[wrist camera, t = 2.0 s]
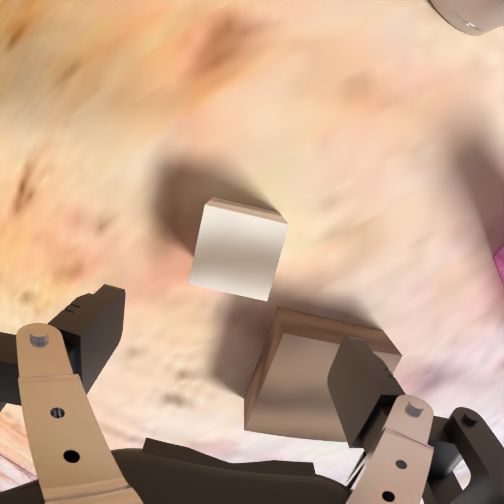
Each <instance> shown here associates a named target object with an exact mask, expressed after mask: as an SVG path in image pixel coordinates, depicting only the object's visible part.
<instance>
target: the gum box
mask: <svg viewBox="0 0 504 504" xmlns="http://www.w3.org/2000/svg"><path fill="white" fill-rule="evenodd" d="M494 260H495V263H496V265H497V268H498V270H499V273H500V276H501V279H502V282H503V285H504V245H503V246H502V247H501V248H500V250H499V251H498V252H497V253H496V254H495V255H494Z"/></svg>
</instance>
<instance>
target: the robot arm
mask: <svg viewBox="0 0 504 504" xmlns="http://www.w3.org/2000/svg"><path fill="white" fill-rule="evenodd" d="M430 1H431V3H432V4H433V6H434V7H435V8H436V10H437V11H438V12H439V13H440V14H441V15H442V16H443V18H445V19H446V20H447V21H448V22H449V23H450V24H451V25H453V26H454V27H456V28H457V29H459V30H461V31H463V32H464V33H467V34H470V35H481V34H484V33H486V32H489V31H491V30H493V29H496V28H498V27H501V26H503V25H504V0H430ZM124 307H125V290H124V289H121V288H117V287H114V286H110V285H106V284H104V285H103V286H102V287H101V288H100V289H99V290H98V291H97V292H96V293H94V294H90V293H88V294H85V295H82V296H80V297H77V298H76V299H75V300H74V301H73V302H72V303H71V304H70V305H68V306H67V307H66V308H65V310H62V311H61V312H60V313H59V314H58V315H57V316H56V317H55V318H53V319H52V320H51V321H50V322H49V323H48V324H43V323H33V324H28V325H25V326H23V327H22V328H20V329H19V330H18V332H17V334H16V335H13V334H7V333H2V332H0V412H1V410H2V409H3V407H4V406H5V405H6V403H10V404H15V405H20V406H22V411H23V416H24V422H25V427H26V432H27V437H28V442H29V446H30V450H31V454H32V458H33V462H34V466H35V470H36V473H37V477H38V479H37V480H34V481H32V482H29V483H26V484H23V485H20V486H18V487H15V488H12V489H9V490H6V491H3V492H0V504H420V501H421V498H423V501H424V504H504V447H503V446H502V445H501V443H500V442H499V440H498V439H497V438H496V436H495V435H494V433H493V432H492V431H491V429H490V428H489V426H488V425H487V424H486V422H485V421H484V420H483V418H482V417H481V416H480V415H479V414H477V413H476V412H475V411H473V410H471V409H468V408H464V407H459V408H456V409H455V410H454V411H453V413H452V414H451V416H450V417H449V419H447V418H442V417H437V416H434V413H433V410H432V408H431V407H430V405H429V404H428V403H426V402H425V401H424V400H422V399H420V398H418V397H416V396H412V395H406V394H405V393H404V391H403V390H402V388H401V386H400V385H399V383H398V382H397V380H396V379H395V377H393V374H392V373H391V371H389V368H388V367H387V365H386V364H385V362H384V361H383V360H382V359H380V358H379V357H378V356H377V355H376V354H374V353H373V351H372V350H371V348H370V347H369V345H368V344H367V342H366V341H365V340H364V339H358V338H351V337H344V338H343V340H342V341H341V343H340V346H339V348H338V351H337V353H336V356H335V358H334V361H333V363H332V365H331V368H330V370H329V373H328V378H327V386H328V389H329V392H330V395H331V397H332V400H333V403H334V406H335V408H336V411H337V414H338V417H339V420H340V422H341V425H342V428H343V431H344V434H345V436H346V439H347V442H348V445H349V448H364V452H363V453H362V455H361V456H360V458H359V459H358V461H357V463H356V465H355V466H354V468H353V470H352V471H351V473H350V475H349V476H348V478H347V480H346V481H345V483H344V484H341V483H339V482H337V481H335V480H332V479H330V478H327V477H324V476H321V475H317V474H315V470H314V465H313V463H311V462H291V461H278V460H271V461H261V462H250V463H228V462H225V461H222V460H220V459H217V458H214V457H211V456H209V455H206V454H203V453H201V452H198V451H196V450H193V449H191V448H188V447H183V446H179V445H174V444H170V443H166V442H162V441H158V440H154V439H150V438H146V440H145V443H144V446H143V449H139V448H125V449H116V450H111V451H110V449H109V447H108V445H107V443H106V441H105V439H104V436H103V434H102V432H101V430H100V427H99V425H98V423H97V420H96V418H95V416H94V413H93V411H92V408H91V406H90V403H89V401H88V398H87V396H86V395H87V393H88V392H89V390H90V388H91V387H92V385H93V384H94V382H95V380H96V379H97V377H98V376H99V374H100V372H101V371H102V369H103V368H104V366H105V364H106V363H107V361H108V360H109V358H110V357H111V355H112V353H113V352H114V350H115V349H116V347H117V346H118V344H119V342H120V339H121V335H122V330H123V319H124ZM462 458H463V460H464V461H465V463H466V465H467V466H468V468H469V470H470V473H471V479H470V482H469V484H468V486H467V487H466V488H465V489H464V490H462V488H461V486H460V484H459V482H458V480H457V479H456V477H455V475H454V473H453V469H454V468H455V467H456V466H457V465H458V463H459V462H460V461H461V460H462Z"/></svg>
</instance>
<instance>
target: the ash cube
mask: <svg viewBox="0 0 504 504" xmlns="http://www.w3.org/2000/svg"><path fill="white" fill-rule="evenodd" d="M287 228H288V223H287V222H286V221H285V219H284V218H283V216H282V215H281V214H280V213H279V212H275V211H271V210H267V209H263V208H258V207H254V206H250V205H246V204H242V203H237V202H233V201H229V200H224V199H220V198H216V197H212V198H211V199H210V200H209V201H208V202H207V203H206V204H205V206H204V211H203V215H202V220H201V225H200V230H199V234H198V239H197V244H196V249H195V254H194V259H193V264H192V269H191V274H190V280H189V284H191V285H195V286H200V287H204V288H208V289H213V290H217V291H221V292H226V293H230V294H235V295H239V296H244V297H249V298H253V299H258V300H263V301H267V300H268V297H269V293H270V290H271V286H272V283H273V279H274V275H275V272H276V268H277V265H278V261H279V257H280V254H281V250H282V246H283V243H284V239H285V235H286V232H287Z"/></svg>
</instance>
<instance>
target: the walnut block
mask: <svg viewBox="0 0 504 504" xmlns="http://www.w3.org/2000/svg"><path fill="white" fill-rule="evenodd" d="M344 337H351V338H358V339H364V340H365V341H366V342H367V344H368V345H369V347H370V348H371V350H372V351H373V353H374V354H376V355H377V356H378V357H379V358H380V359H382V360H383V361H384V362H385V364H386V365H387V367H388V368H389V371H391V373H392V374H393V372H394V370H395V369H396V367H397V365H398V363H399V361H400V359H401V357H402V355H401V353H400V352H399V351H398V349H397V348H396V347H395V345H394V344H393V343H392V342H391V340H390V339H389V338H388V336H387V335H386V334H385V332H384V331H381V330H376V329H372V328H367V327H362V326H358V325H353V324H349V323H344V322H340V321H335V320H331V319H326V318H322V317H318V316H313V315H309V314H305V313H301V312H296V311H292V310H288V309H284V308H280V307H278V308H277V311H276V314H275V317H274V320H273V322H272V325H271V328H270V331H269V334H268V336H267V339H266V342H265V345H264V347H263V350H262V353H261V356H260V358H259V361H258V364H257V366H256V369H255V372H254V375H253V377H252V380H251V382H250V385H249V388H248V390H247V393H246V396H245V398H244V430H246V431H252V432H258V433H264V434H271V435H278V436H285V437H293V438H302V439H312V440H323V441H336V442H347V439H346V436H345V434H344V431H343V428H342V425H341V422H340V420H339V417H338V414H337V411H336V408H335V406H334V403H333V400H332V397H331V395H330V392H329V389H328V386H327V378H328V373H329V370H330V368H331V365H332V363H333V361H334V358H335V356H336V353H337V351H338V348H339V346H340V343H341V341H342V340H343V338H344Z"/></svg>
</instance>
